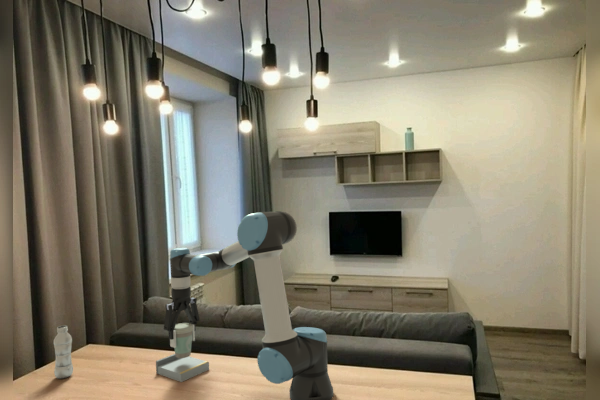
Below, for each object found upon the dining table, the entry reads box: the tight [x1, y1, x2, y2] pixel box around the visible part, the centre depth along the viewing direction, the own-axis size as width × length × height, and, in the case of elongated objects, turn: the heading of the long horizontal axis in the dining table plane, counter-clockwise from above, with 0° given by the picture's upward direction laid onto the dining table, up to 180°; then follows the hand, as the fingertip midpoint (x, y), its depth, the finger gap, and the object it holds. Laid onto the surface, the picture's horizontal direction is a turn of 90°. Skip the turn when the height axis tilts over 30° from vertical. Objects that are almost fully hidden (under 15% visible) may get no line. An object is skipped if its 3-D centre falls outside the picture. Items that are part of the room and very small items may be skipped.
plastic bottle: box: [53, 325, 74, 380], centre depth 176 cm, size 6×7×20 cm
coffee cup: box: [173, 322, 193, 358], centre depth 178 cm, size 8×8×12 cm
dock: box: [155, 353, 210, 383], centre depth 178 cm, size 15×14×5 cm
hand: (182, 343), depth 178 cm, fingers closed on coffee cup, 8 cm apart
